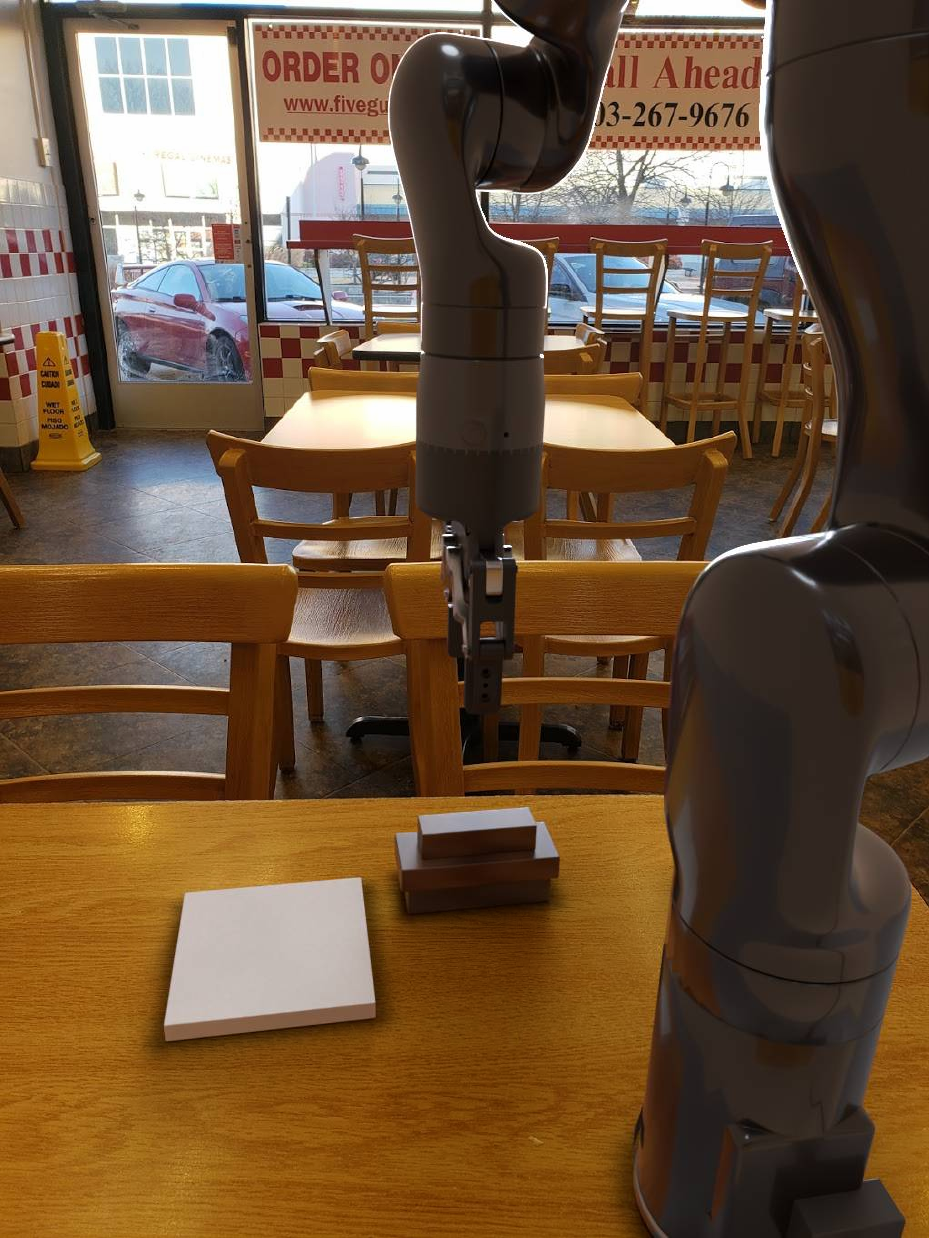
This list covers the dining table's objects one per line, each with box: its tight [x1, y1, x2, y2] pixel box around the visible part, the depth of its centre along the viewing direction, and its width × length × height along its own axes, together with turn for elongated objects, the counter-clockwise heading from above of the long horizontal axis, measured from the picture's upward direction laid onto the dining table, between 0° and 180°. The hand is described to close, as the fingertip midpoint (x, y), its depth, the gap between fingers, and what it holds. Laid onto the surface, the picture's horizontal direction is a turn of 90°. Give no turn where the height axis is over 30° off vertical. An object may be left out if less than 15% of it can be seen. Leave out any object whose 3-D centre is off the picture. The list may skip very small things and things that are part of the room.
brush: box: [394, 806, 561, 915], centre depth 66 cm, size 11×4×6 cm, turn 100°
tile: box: [163, 877, 377, 1042], centre depth 60 cm, size 12×12×1 cm
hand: (471, 681), depth 61 cm, fingers open, 8 cm apart
